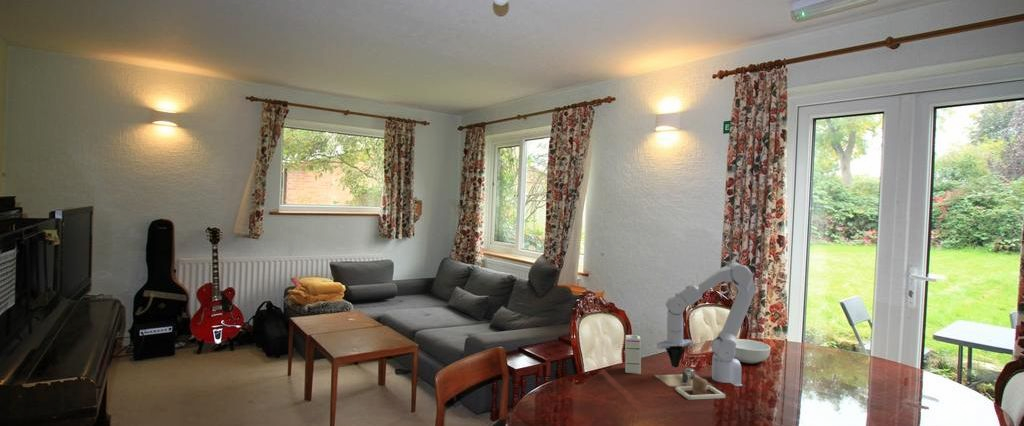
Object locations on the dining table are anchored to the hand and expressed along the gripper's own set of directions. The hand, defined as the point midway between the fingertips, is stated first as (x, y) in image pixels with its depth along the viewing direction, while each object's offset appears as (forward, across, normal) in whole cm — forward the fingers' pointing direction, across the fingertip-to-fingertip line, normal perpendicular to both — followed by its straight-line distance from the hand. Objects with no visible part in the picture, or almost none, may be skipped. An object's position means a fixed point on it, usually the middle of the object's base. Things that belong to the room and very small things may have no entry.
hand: (674, 366), depth 184 cm
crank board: (+5, 0, -4) cm, 7 cm away
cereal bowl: (+6, +46, +11) cm, 47 cm away
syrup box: (+5, -11, +10) cm, 16 cm away
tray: (+5, -4, -17) cm, 18 cm away
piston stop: (+5, -4, -17) cm, 18 cm away
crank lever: (+3, 0, -6) cm, 7 cm away
